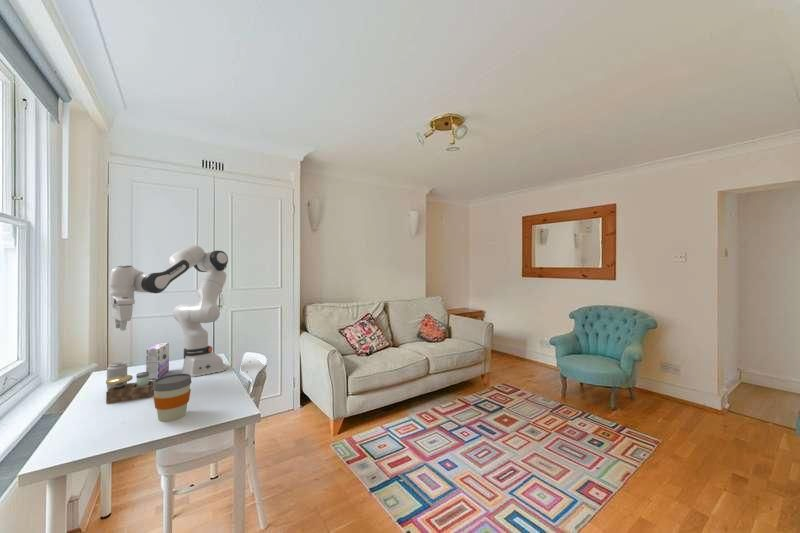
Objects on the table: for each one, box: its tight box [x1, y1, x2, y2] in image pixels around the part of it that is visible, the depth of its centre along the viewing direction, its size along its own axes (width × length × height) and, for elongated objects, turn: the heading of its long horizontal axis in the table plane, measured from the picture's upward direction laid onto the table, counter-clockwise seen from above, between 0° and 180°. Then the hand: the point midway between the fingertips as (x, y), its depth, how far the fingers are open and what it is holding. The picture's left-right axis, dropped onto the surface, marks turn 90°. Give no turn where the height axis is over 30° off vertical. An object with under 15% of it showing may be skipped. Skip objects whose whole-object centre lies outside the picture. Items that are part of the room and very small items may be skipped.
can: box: [106, 361, 128, 390], centre depth 155 cm, size 8×8×12 cm
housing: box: [105, 379, 155, 405], centre depth 144 cm, size 16×9×5 cm, turn 118°
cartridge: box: [135, 371, 150, 387], centre depth 146 cm, size 5×5×10 cm
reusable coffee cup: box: [152, 373, 192, 423], centre depth 125 cm, size 13×13×15 cm
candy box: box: [145, 342, 170, 381], centre depth 173 cm, size 14×6×16 cm, turn 17°
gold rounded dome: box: [105, 374, 134, 389], centre depth 142 cm, size 9×9×6 cm
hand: (120, 329), depth 148 cm, fingers open, 8 cm apart
